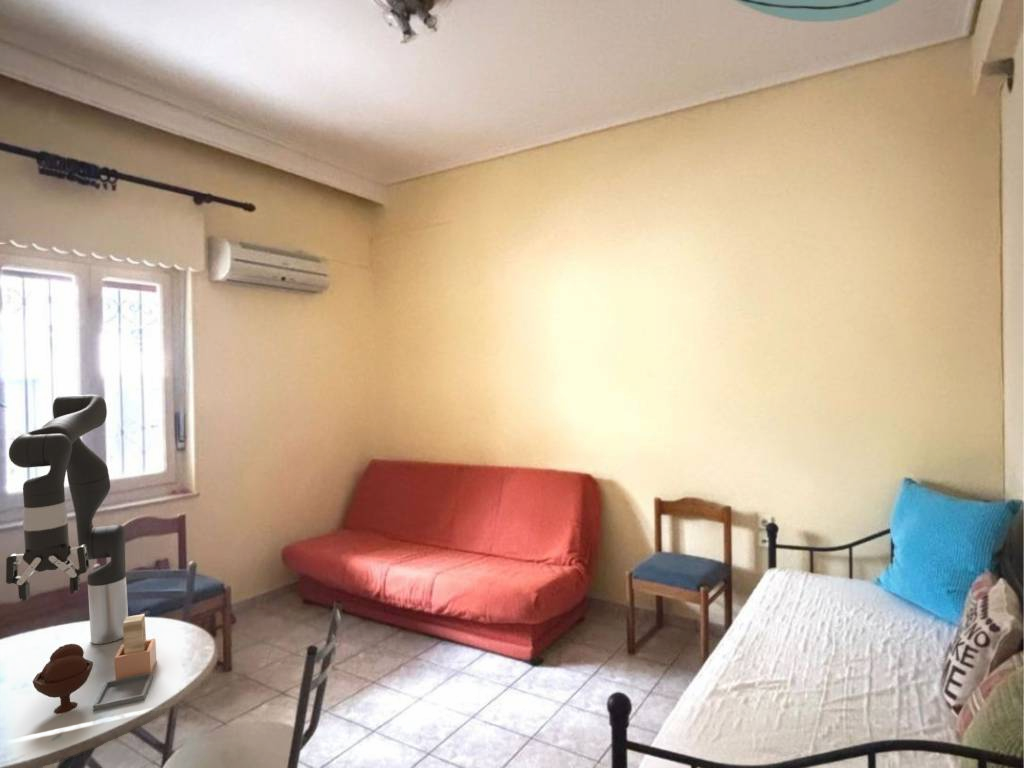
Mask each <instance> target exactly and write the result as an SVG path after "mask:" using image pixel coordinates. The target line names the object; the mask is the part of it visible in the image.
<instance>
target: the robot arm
mask: <svg viewBox="0 0 1024 768" xmlns="http://www.w3.org/2000/svg"><path fill="white" fill-rule="evenodd" d="M107 412H108V409H107V403H106V400H105V399H104V398H103V397H102V396H100V395H98V394H69V395H59V396H57V397H56V398H55V399H54V400H53V403H52V416H53V419H51V420H49V421H48V422H47V423H45V424H44V425H43V426H42V427H41V428H37V429H34V430H30V431H27V432H25V433H23V434H20V435H18V436H17V437H16V438H14V440H13V441H12V442H11V444H10V446H9V448H8V458H9V459H10V461H11V462H12V464H14V465H15V466H16V467H19V468H39V467H50V468H49V471H48V473H47V474H45V475H40V476H36V477H32V478H29V479H28V480H25V481H24V482H23V485H22V495H23V515H22V520H23V521H22V527H23V536H24V539H23V540H24V553H17V552H13V553H11V554H10V555H8V556H7V557H6V558H5V559H6V560H5V561H6V562H5V563H6V565H5V566H6V568H5V569H6V571H5V572H6V573H5V582H6V584H8V585H10V584H15V585H17V587H18V598H19V599H20V600H22V602H28V601H29V600H30V599H31V587H30V581H28V580H29V579H30V577H31V576H32V575H33V574H34V573H35V572H39V573H41V572H42V573H43V572H45V571H53V570H54V571H56V570H58V569H59V570H61V571H62V572H64V573H65V574H67V575H68V576H69V577H70V578H69V590H70V591H69V593H70V595H73V594H74V595H75V594H76V593H77V592H78V590H80V587H81V577H80V575H83V574H85V573H87V571H88V570H89V569H90V560H91V561H92V560H99V559H107V558H110V561H109V562H108V563H106V564H105V565H102V566H100V567H98V568H96V569H93V570H92V571H90V572H89V573H88V574H87V594H88V611H89V627H90V628H89V630H90V642H91V643H92V644H94V645H103V643H104V644H109V643H112V641H113V642H115V641H116V642H117V641H119V640H121V639H124V634H123V622H124V620H125V619H126V617H129V611H128V610H129V609H128V593H127V592H128V590H127V573H126V566H127V565H126V532H125V528H124V526H123V525H121V524H111V525H103V526H101V525H100V526H94V525H93V519H94V517H95V515H96V513H97V511H98V510H99V508H100V507H101V506H102V504H103V502H104V501H105V499H106V497H107V496H108V494H109V493H110V489H111V481H110V475H109V469H108V466H107V464H106V463H105V461H104V460H103V459H102V458H101V457H100V456H99V455H98V454H97V453H96V452H94V450H92V449H91V448H89V446H87V445H86V444H85V443H84V442H83V440H82V439H81V437H82V436H84V435H86V434H88V433H90V432H92V431H94V430H96V429H97V428H100V427H102V426H103V424H104V423H105V421H106V419H107V415H108V413H107ZM66 476H67V482H68V486H69V487H68V488H69V493H70V496H71V501H72V505H73V509H74V515H75V524H76V534H77V543H78V544H77V545H78V546H75V547H71V546H70V540H69V524H68V521H69V520H68V510H67V509H68V508H67V506H66V495H65V478H66ZM71 554H73V555H74V556H75V558H77V560H78V566H79V567H77V566H76V565H75V564H74V562H73V561H72V560H71V559H70V558H69V557H70V556H71ZM22 560H23V561H24V562H25V563H26V564H27V565H28V567H27V568H26V569H25V571H24V572H23V573H22V574H21V575H18V574H19V564H20V563H21V562H22Z"/></svg>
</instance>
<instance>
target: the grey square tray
mask: <svg viewBox="0 0 1024 768" xmlns="http://www.w3.org/2000/svg"><path fill="white" fill-rule="evenodd" d="M153 678H154V671H152V672H151V673H146V674H141V675H136V676H132V677H127V678H122V679H117V680H115V679H113V680H109V681H105V683H104V685H103V686H102V688H101V690H100V693H99V694H98V696H97V698H96V700H95V702H94V703H93V705H92V711H93V712H97V711H101V710H106V709H110V708H115V707H120V706H124V705H125V706H126V705H128V704H133V703H137V702H142V701H145V699H146V697H147V694H148V691H149V689H150V686H151V684H152V681H153Z"/></svg>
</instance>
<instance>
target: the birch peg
mask: <svg viewBox="0 0 1024 768" xmlns="http://www.w3.org/2000/svg"><path fill="white" fill-rule="evenodd" d="M145 615H146V614H145V613H142V614H136V615H135V614H134V615H130V616H129V615H128V617H126V619H125V620H124V622H123V634H124V637H123V644H124V652H125V655H126V654H132V653H137V652H142V651H147V650H146V640H147V636H146V635H147V634H146V633H147V632H146V631H147V630H146V620H145V619H146V617H145Z"/></svg>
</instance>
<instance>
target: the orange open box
mask: <svg viewBox="0 0 1024 768" xmlns="http://www.w3.org/2000/svg"><path fill="white" fill-rule="evenodd" d="M146 650H147V651H142V652H137V653H132V654H126V655H125V652H124V643H122V644H121V645H120V647H119V648H118V651H117V652H116V654H115V656H114V659H113V661H114V675H115V676H114V678H115V679H114V680H117V679H122V678H127V677H132V676H136V675H141V674H146V673H151V672H154V668H155V667H156V664H157V661H158V660H157V645H156V638H151V639H150V638H148V639H146Z"/></svg>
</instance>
